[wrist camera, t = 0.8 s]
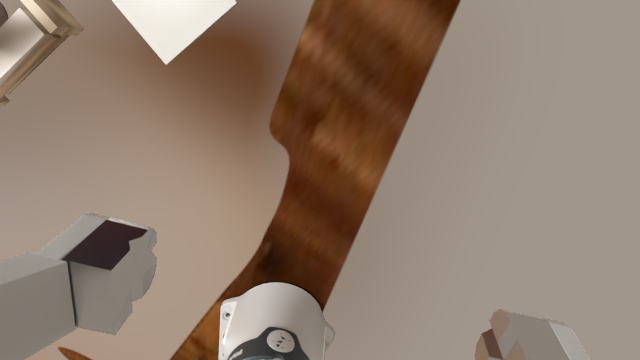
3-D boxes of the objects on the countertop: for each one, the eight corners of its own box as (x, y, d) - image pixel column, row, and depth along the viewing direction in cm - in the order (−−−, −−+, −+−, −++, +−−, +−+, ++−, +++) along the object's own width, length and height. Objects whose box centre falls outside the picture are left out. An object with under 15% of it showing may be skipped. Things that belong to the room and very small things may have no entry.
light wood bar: (71, 37, 49) (46, 36, 44) (10, 96, 51) (-19, 100, 47) (44, 7, 48) (17, 3, 43) (-17, 69, 50) (-48, 71, 46)
